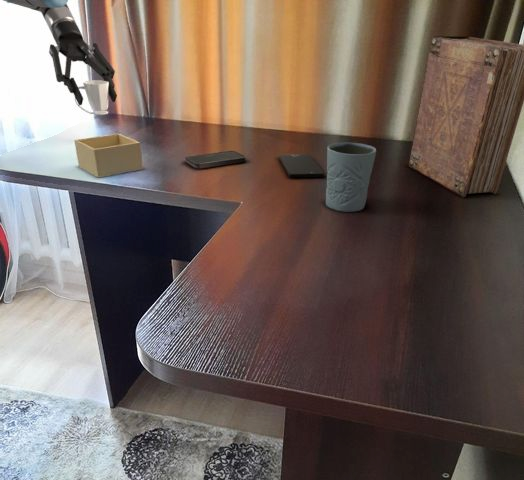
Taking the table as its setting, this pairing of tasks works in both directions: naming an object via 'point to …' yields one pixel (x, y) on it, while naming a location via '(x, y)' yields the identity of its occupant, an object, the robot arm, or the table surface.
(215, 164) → the phone
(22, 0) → the robot arm
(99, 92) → the cup
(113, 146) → the tan open box
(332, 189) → the grey embossed tumbler
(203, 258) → the table surface
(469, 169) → the book
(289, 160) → the cell phone
